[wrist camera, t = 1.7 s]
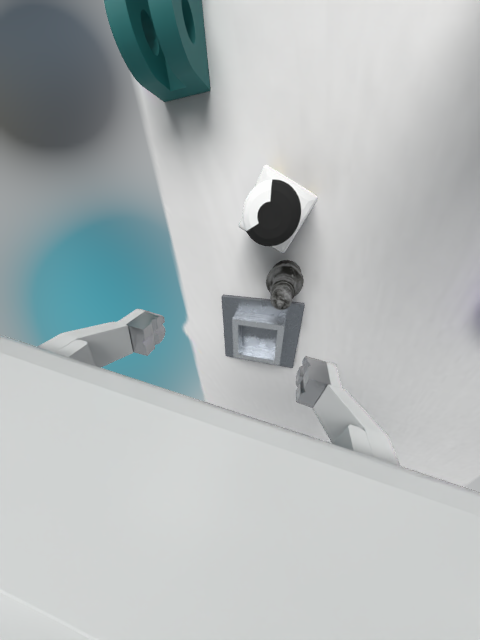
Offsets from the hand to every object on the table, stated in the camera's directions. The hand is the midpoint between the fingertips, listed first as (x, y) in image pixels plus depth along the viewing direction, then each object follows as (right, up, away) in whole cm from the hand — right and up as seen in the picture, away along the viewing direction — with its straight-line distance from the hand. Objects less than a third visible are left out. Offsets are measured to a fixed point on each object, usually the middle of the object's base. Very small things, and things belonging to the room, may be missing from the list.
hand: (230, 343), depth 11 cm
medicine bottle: (+7, +18, +18) cm, 27 cm away
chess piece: (+9, +9, +23) cm, 26 cm away
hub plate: (+5, -1, +31) cm, 31 cm away
